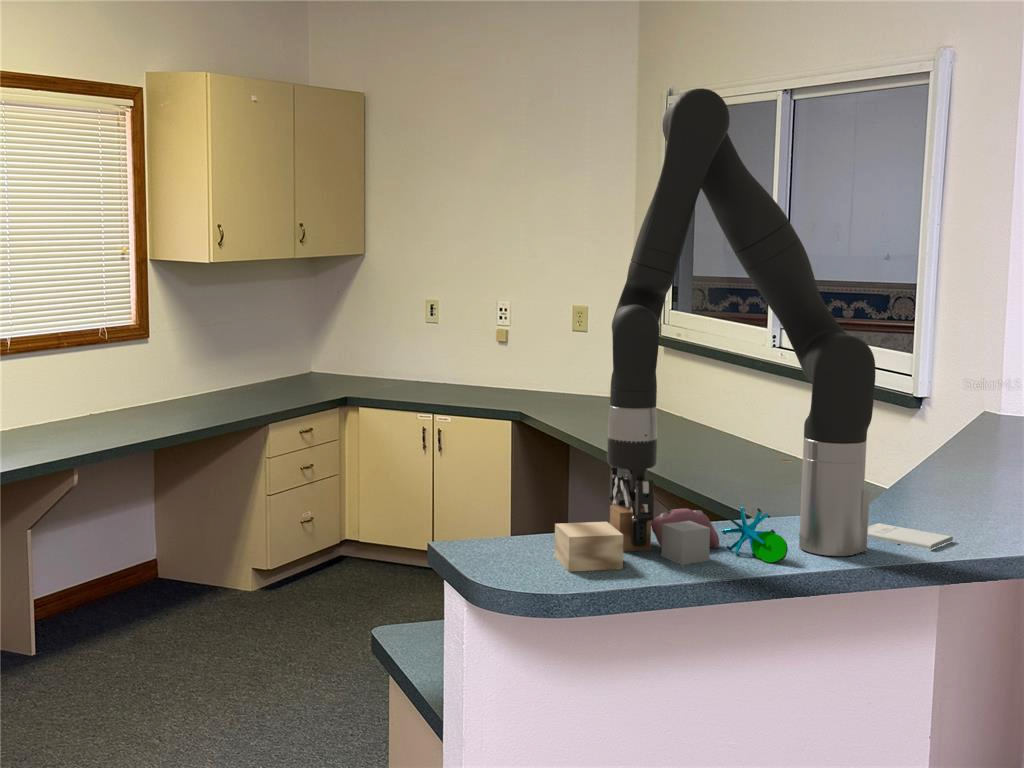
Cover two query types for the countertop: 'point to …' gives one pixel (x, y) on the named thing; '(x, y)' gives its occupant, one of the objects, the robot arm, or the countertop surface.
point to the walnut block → (627, 527)
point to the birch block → (588, 546)
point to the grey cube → (685, 542)
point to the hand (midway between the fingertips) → (629, 538)
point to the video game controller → (682, 516)
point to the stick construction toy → (759, 539)
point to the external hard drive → (907, 536)
